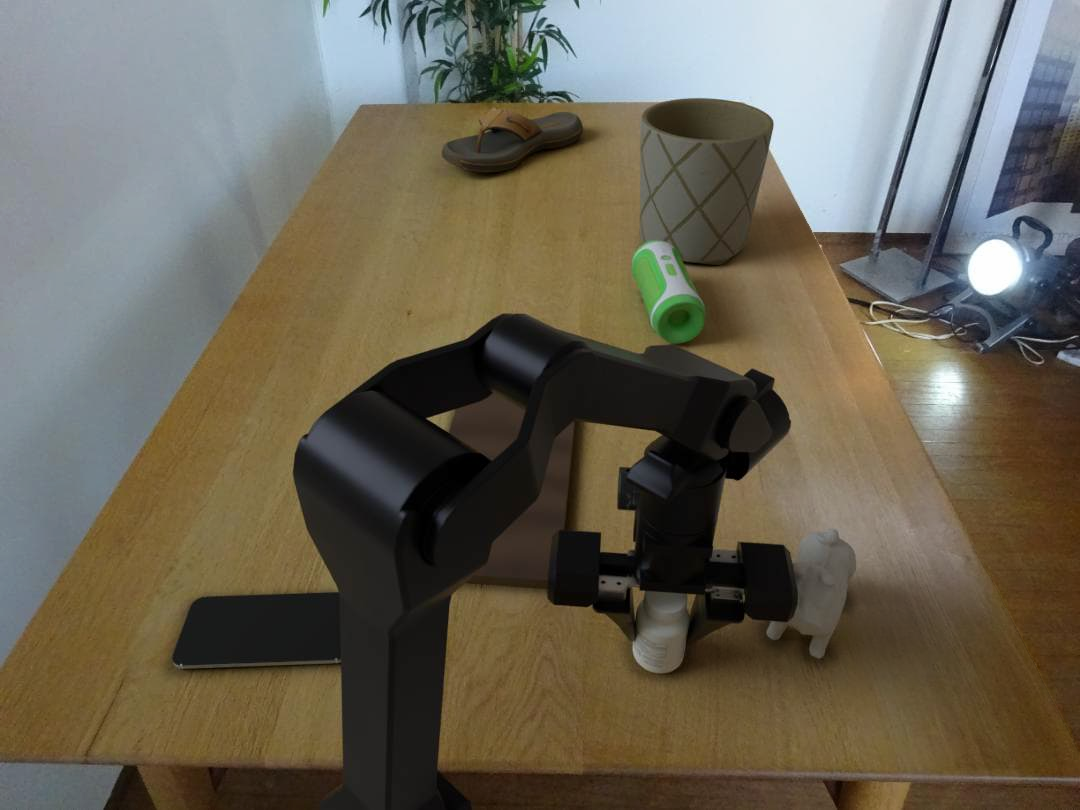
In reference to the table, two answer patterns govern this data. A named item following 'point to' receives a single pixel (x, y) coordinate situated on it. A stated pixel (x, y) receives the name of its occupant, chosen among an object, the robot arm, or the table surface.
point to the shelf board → (529, 537)
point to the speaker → (668, 292)
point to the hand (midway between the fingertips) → (660, 638)
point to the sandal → (511, 139)
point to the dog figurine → (819, 588)
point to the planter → (701, 175)
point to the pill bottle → (661, 631)
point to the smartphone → (260, 631)
